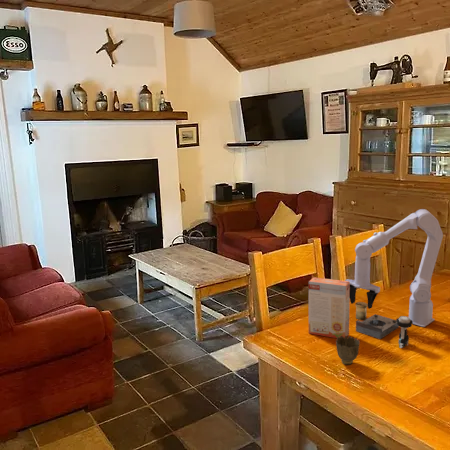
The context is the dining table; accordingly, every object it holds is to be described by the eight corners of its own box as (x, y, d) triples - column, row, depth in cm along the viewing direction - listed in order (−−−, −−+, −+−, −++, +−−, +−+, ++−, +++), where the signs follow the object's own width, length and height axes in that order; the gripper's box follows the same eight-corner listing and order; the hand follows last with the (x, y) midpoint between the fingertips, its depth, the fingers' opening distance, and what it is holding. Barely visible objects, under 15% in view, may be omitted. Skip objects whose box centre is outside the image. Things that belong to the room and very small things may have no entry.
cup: (355, 371, 144) (355, 347, 142) (332, 365, 147) (332, 342, 146) (361, 360, 150) (362, 338, 148) (339, 355, 154) (340, 333, 152)
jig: (374, 320, 181) (375, 310, 180) (398, 327, 174) (399, 317, 173) (355, 331, 172) (356, 321, 171) (380, 339, 164) (380, 328, 164)
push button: (408, 351, 155) (409, 323, 153) (392, 347, 158) (393, 320, 156) (412, 343, 160) (414, 317, 158) (397, 340, 164) (398, 313, 161)
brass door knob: (359, 314, 186) (359, 301, 185) (369, 318, 183) (369, 304, 182) (352, 318, 183) (353, 304, 182) (363, 321, 180) (363, 307, 179)
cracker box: (349, 334, 169) (350, 280, 165) (345, 340, 164) (346, 285, 160) (313, 327, 176) (313, 276, 172) (308, 333, 171) (308, 280, 167)
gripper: (340, 271, 182) (340, 303, 185) (373, 279, 172) (372, 313, 174) (350, 267, 187) (349, 298, 189) (383, 275, 176) (381, 307, 179)
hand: (361, 305), depth 182 cm, fingers open, 7 cm apart
